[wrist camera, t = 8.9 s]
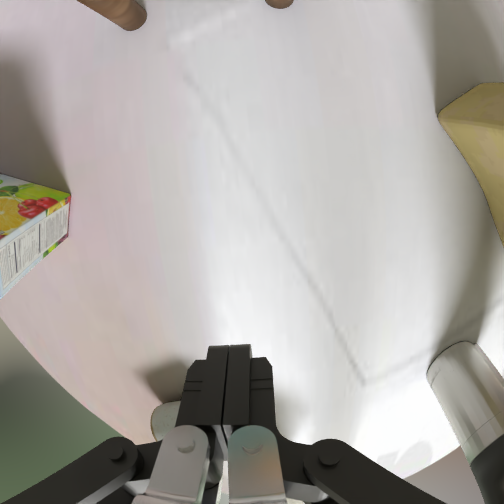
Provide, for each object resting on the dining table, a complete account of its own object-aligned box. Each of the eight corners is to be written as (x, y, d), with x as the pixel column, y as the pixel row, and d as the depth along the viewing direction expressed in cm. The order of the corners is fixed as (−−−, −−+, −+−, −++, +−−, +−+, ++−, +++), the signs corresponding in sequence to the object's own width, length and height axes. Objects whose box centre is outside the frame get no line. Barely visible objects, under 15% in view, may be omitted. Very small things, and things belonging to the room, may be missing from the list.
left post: (146, 4, 19) (108, -34, 11) (147, 26, 20) (106, -7, 12) (120, 11, 19) (74, -20, 11) (120, 34, 20) (73, 7, 12)
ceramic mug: (152, 395, 38) (141, 438, 31) (201, 384, 37) (195, 432, 30) (190, 431, 42) (185, 470, 35) (235, 423, 41) (235, 465, 34)
